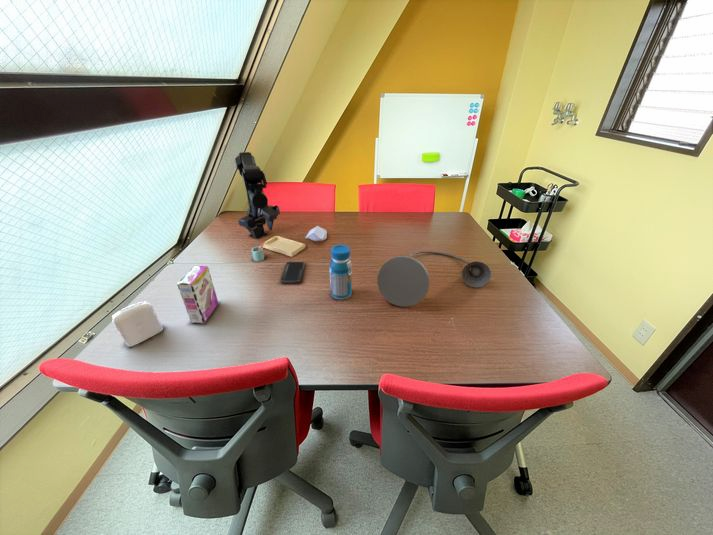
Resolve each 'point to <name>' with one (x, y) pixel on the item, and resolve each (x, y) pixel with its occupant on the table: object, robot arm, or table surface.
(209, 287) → the candy bar box
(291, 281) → the phone
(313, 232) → the crumpled paper
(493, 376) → the table surface
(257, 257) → the cup
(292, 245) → the tray
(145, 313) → the photo printer
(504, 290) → the table surface
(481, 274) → the desk lamp
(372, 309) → the table surface
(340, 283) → the beverage bottle
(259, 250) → the red thin rounded piece
